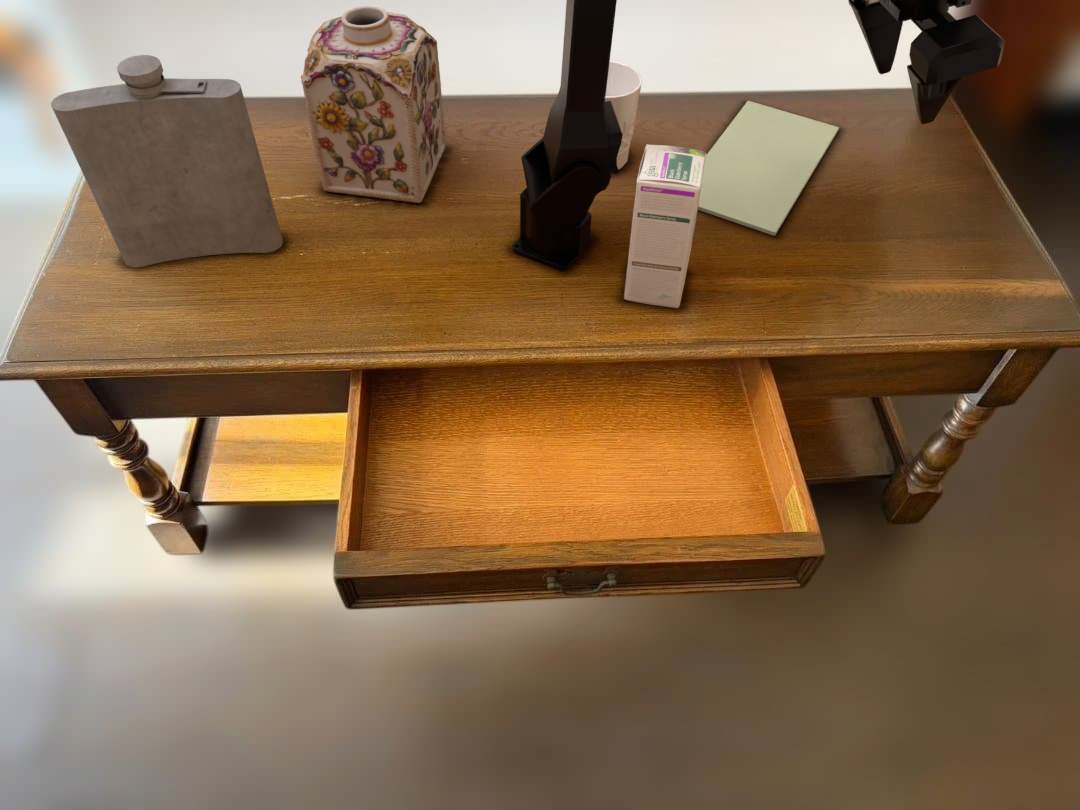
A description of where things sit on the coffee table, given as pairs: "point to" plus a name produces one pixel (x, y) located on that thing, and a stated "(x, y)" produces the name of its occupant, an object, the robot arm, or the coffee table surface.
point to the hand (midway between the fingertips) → (904, 96)
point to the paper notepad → (762, 166)
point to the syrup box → (663, 224)
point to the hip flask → (171, 164)
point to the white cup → (624, 102)
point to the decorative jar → (375, 104)
